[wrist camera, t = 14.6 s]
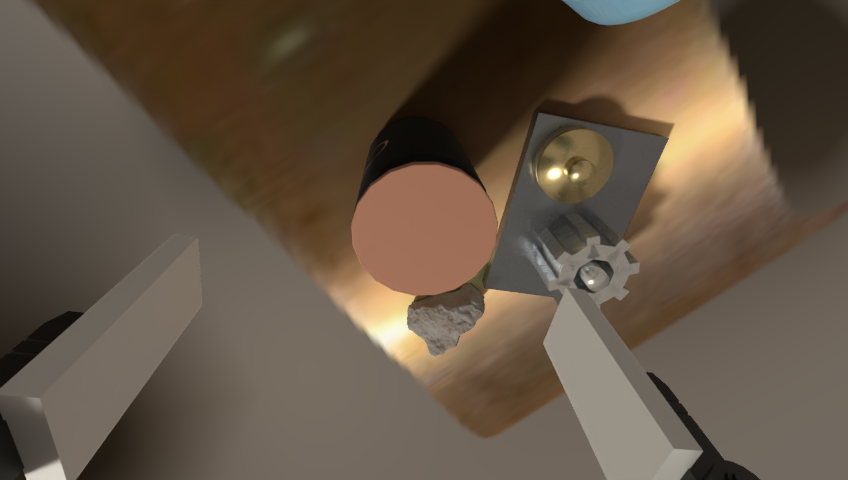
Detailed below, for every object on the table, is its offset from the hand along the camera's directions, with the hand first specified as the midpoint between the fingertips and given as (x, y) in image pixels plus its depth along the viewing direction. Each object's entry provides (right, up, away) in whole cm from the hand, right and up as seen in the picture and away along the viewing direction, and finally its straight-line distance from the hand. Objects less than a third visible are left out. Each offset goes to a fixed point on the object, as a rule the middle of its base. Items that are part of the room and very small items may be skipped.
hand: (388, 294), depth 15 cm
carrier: (+18, +5, +34) cm, 39 cm away
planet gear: (+20, +1, +35) cm, 40 cm away
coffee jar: (0, +11, +31) cm, 32 cm away
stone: (+4, -7, +40) cm, 41 cm away
